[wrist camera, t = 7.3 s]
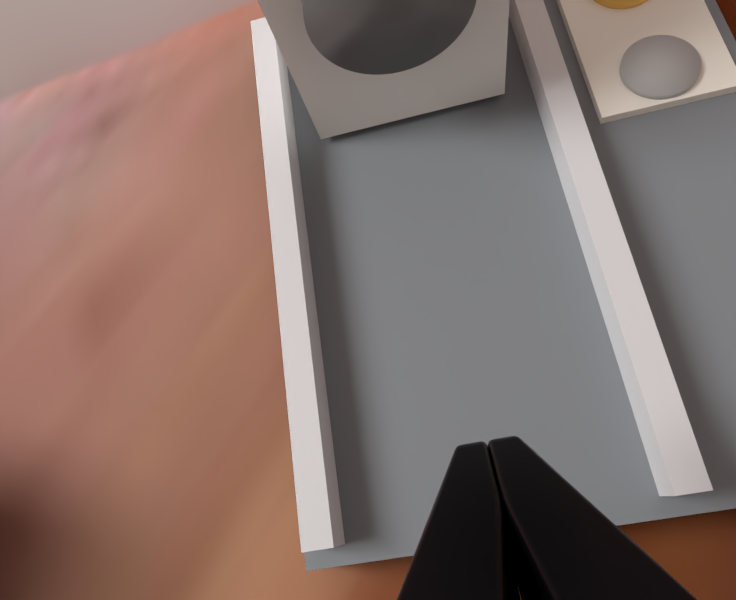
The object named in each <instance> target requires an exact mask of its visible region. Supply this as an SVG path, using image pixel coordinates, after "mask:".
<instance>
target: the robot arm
mask: <svg viewBox="0 0 736 600" xmlns="http://www.w3.org/2000/svg"><path fill="white" fill-rule="evenodd" d="M518 588H519V589H518ZM519 593H520V594H519ZM520 596H521V600H697V599H696V598H695V597H694V596H693V595H692V594H690V593H689V592H688V591H687V590H686V589H685V588H684V587H683V586H682V585H681V584H680V583H678V582H677V581H676V580H675V579H674V578H673V577H672V576H671V575H670V574H669V573H667V572H666V571H665V570H664V569H663V568H662V567H661V566H660V565H659V564H658V563H657V562H655V561H654V560H653V559H652V558H651V557H650V556H649V555H648V554H647V553H646V552H644V551H643V550H642V549H641V548H640V547H639V546H638V545H637V544H636V543H635V542H634V541H632V540H631V539H630V538H629V537H628V536H627V535H626V534H625V533H624V532H623V531H621V530H620V529H619V528H618V527H617V526H616V525H615V524H614V523H613V522H612V521H610V520H609V519H608V518H607V517H606V516H605V515H604V514H603V513H602V512H601V511H600V510H598V509H597V508H596V507H595V506H594V505H593V504H592V503H591V502H590V501H589V500H587V499H586V498H585V497H584V496H583V495H582V494H581V493H580V492H579V491H578V490H577V489H575V488H574V487H573V486H572V485H571V484H570V483H569V482H568V481H567V480H566V479H564V478H563V477H562V476H561V475H560V474H559V473H558V472H557V471H556V470H555V469H554V468H552V467H551V466H550V465H549V464H548V463H547V462H546V461H545V460H544V459H543V458H541V457H540V456H539V455H538V454H537V453H536V452H535V451H534V450H533V449H532V448H531V447H529V446H528V445H527V444H526V443H525V442H524V441H523V440H522V439H521V438H519V437H517V436H509V437H503V438H497V439H492V440H490V441H489V442H488V446H487V444H486V443H485V442H483V441H480V442H474V443H468V444H462V445H459V446H457V447H456V449H455V451H454V453H453V456H452V458H451V461H450V463H449V466H448V469H447V471H446V474H445V476H444V479H443V481H442V484H441V487H440V489H439V492H438V494H437V497H436V499H435V502H434V505H433V507H432V510H431V512H430V515H429V517H428V520H427V523H426V525H425V528H424V530H423V533H422V535H421V538H420V541H419V543H418V546H417V548H416V551H415V553H414V556H413V559H412V561H411V564H410V566H409V569H408V571H407V574H406V577H405V579H404V582H403V584H402V587H401V589H400V592H399V595H398V597H397V600H520Z"/></svg>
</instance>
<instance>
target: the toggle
mask: <svg viewBox="0 0 736 600" xmlns="http://www.w3.org/2000/svg"><path fill="white" fill-rule="evenodd" d="M258 2H259V4H260V7H261V9H262V11H263V13H264V16H265V18H266V20H267V22H268V24H269V27H270V29H271V31H272V33H273V35H274V38H275V40H276V42H277V44H278V46H279V49H280V51H281V53H282V55H283V57H284V60H285V62H286V64H287V66H288V68H289V71H290V73H291V75H292V77H293V79H294V82H295V84H296V86H297V88H298V90H299V93H300V95H301V97H302V99H303V101H304V104H305V106H306V108H307V110H308V112H309V115H310V117H311V119H312V121H313V123H314V126H315V128H316V130H317V132H318V134H319V137H320V139H324V138H328V137H332V136H336V135H340V134H344V133H348V132H352V131H356V130H360V129H364V128H368V127H372V126H376V125H381V124H385V123H389V122H393V121H397V120H401V119H405V118H409V117H413V116H417V115H421V114H425V113H429V112H433V111H437V110H441V109H445V108H449V107H453V106H457V105H461V104H465V103H469V102H473V101H477V100H481V99H485V98H489V97H493V96H497V95H501V94H505V76H506V57H507V37H508V18H509V0H258Z"/></svg>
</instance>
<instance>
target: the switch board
mask: <svg viewBox="0 0 736 600" xmlns="http://www.w3.org/2000/svg"><path fill="white" fill-rule="evenodd" d="M251 29H252V40H253V50H254V61H255V71H256V82H257V92H258V103H259V113H260V124H261V134H262V144H263V155H264V165H265V176H266V186H267V197H268V207H269V218H270V228H271V239H272V249H273V260H274V270H275V281H276V291H277V302H278V312H279V323H280V333H281V343H282V354H283V364H284V375H285V385H286V396H287V406H288V417H289V427H290V438H291V448H292V459H293V469H294V480H295V490H296V501H297V511H298V522H299V532H300V542H301V553H302V552H304V553H305V563H306V571H311V570H318V569H325V568H332V567H338V566H345V565H352V564H359V563H366V562H373V561H379V560H386V559H393V558H400V557H407V556H414V553H415V551H416V548H417V546H418V543H419V541H420V538H421V535H422V533H423V530H424V528H425V525H426V523H427V520H428V517H429V515H430V512H431V510H432V507H433V505H434V502H435V499H436V497H437V494H438V492H439V489H440V487H441V484H442V481H443V479H444V476H445V474H446V471H447V469H448V466H449V463H450V461H451V458H452V456H453V453H454V451H455V449H456V447H457V446H459V445H462V444H468V443H474V442H480V441H483V442H485V443H486V444H487V446H488V442H489V441H490V440H492V439H497V438H503V437H509V436H517V437H519V438H521V439H522V440H523V441H524V442H525V443H526V444H527V445H528V446H529V447H531V448H532V449H533V450H534V451H535V452H536V453H537V454H538V455H539V456H540V457H541V458H543V459H544V460H545V461H546V462H547V463H548V464H549V465H550V466H551V467H552V468H554V469H555V470H556V471H557V472H558V473H559V474H560V475H561V476H562V477H563V478H564V479H566V480H567V481H568V482H569V483H570V484H571V485H572V486H573V487H574V488H575V489H577V490H578V491H579V492H580V493H581V494H582V495H583V496H584V497H585V498H586V499H587V500H589V501H590V502H591V503H592V504H593V505H594V506H595V507H596V508H597V509H598V510H600V511H601V512H602V513H603V514H604V515H605V516H606V517H607V518H608V519H609V520H610V521H612V522H613V523H614V524H615V525H616V526H618V525H625V524H632V523H639V522H646V521H652V520H659V519H666V518H673V517H680V516H687V515H693V514H700V513H707V512H714V511H721V510H728V509H734V508H736V41H735V39H734V37H733V35H732V33H731V31H730V29H729V27H728V25H727V23H726V21H725V18H724V16H723V14H722V12H721V10H720V8H719V6H718V4H717V2H716V0H509V18H508V37H507V57H506V76H505V94H501V95H497V96H493V97H489V98H485V99H481V100H477V101H473V102H469V103H465V104H461V105H457V106H453V107H449V108H445V109H441V110H437V111H433V112H429V113H425V114H421V115H417V116H413V117H409V118H405V119H401V120H397V121H393V122H389V123H385V124H381V125H376V126H372V127H368V128H364V129H360V130H356V131H352V132H348V133H344V134H340V135H336V136H332V137H328V138H324V139H320V137H319V134H318V132H317V130H316V128H315V126H314V123H313V121H312V119H311V117H310V115H309V112H308V110H307V108H306V106H305V104H304V101H303V99H302V97H301V95H300V93H299V90H298V88H297V86H296V84H295V82H294V79H293V77H292V75H291V73H290V71H289V68H288V66H287V64H286V62H285V60H284V57H283V55H282V53H281V51H280V49H279V46H278V44H277V42H276V40H275V38H274V35H273V33H272V31H271V29H270V27H269V24H268V22H267V20H266V18H265V17H264V18H261V19H257V20H253V21H251Z"/></svg>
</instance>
